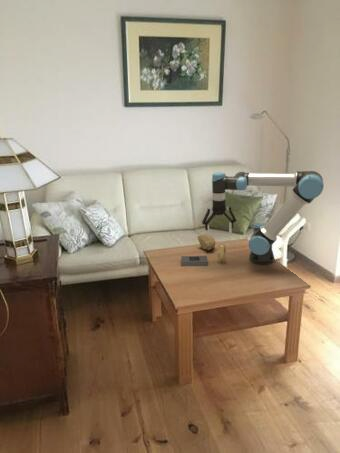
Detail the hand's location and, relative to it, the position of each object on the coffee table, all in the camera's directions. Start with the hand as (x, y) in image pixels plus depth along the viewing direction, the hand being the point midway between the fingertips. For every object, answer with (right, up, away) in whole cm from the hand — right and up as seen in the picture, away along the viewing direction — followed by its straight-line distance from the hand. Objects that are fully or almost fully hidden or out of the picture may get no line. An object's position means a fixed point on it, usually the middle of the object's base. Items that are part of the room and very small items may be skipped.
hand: (219, 234), depth 216 cm
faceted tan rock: (-4, -11, +27) cm, 30 cm away
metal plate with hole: (-14, -18, +8) cm, 24 cm away
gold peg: (+3, -17, +8) cm, 19 cm away
